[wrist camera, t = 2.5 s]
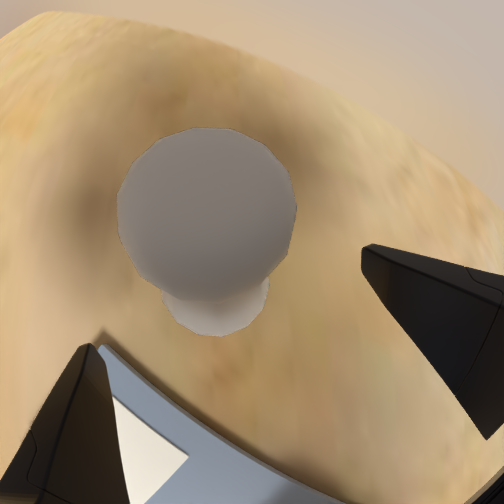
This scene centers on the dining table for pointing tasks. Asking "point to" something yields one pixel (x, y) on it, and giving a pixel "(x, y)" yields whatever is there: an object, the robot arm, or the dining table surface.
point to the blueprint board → (187, 452)
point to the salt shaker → (207, 225)
